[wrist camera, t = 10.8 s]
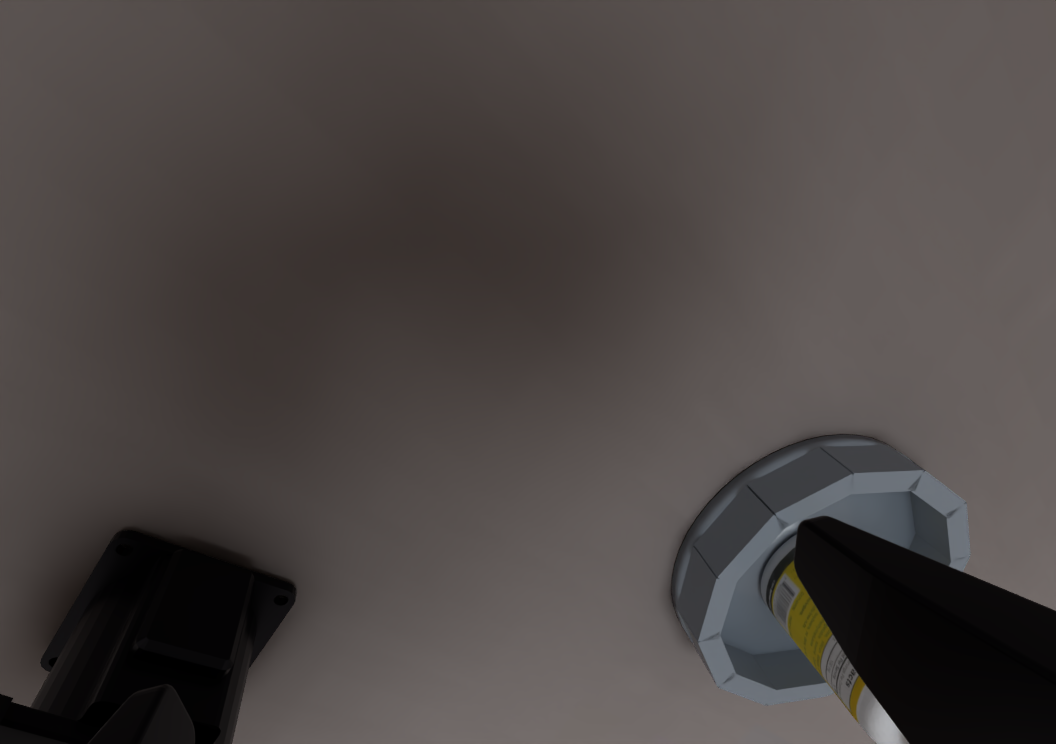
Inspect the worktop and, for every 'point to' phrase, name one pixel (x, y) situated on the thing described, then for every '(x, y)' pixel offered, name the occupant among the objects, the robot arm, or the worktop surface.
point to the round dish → (772, 519)
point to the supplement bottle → (822, 644)
